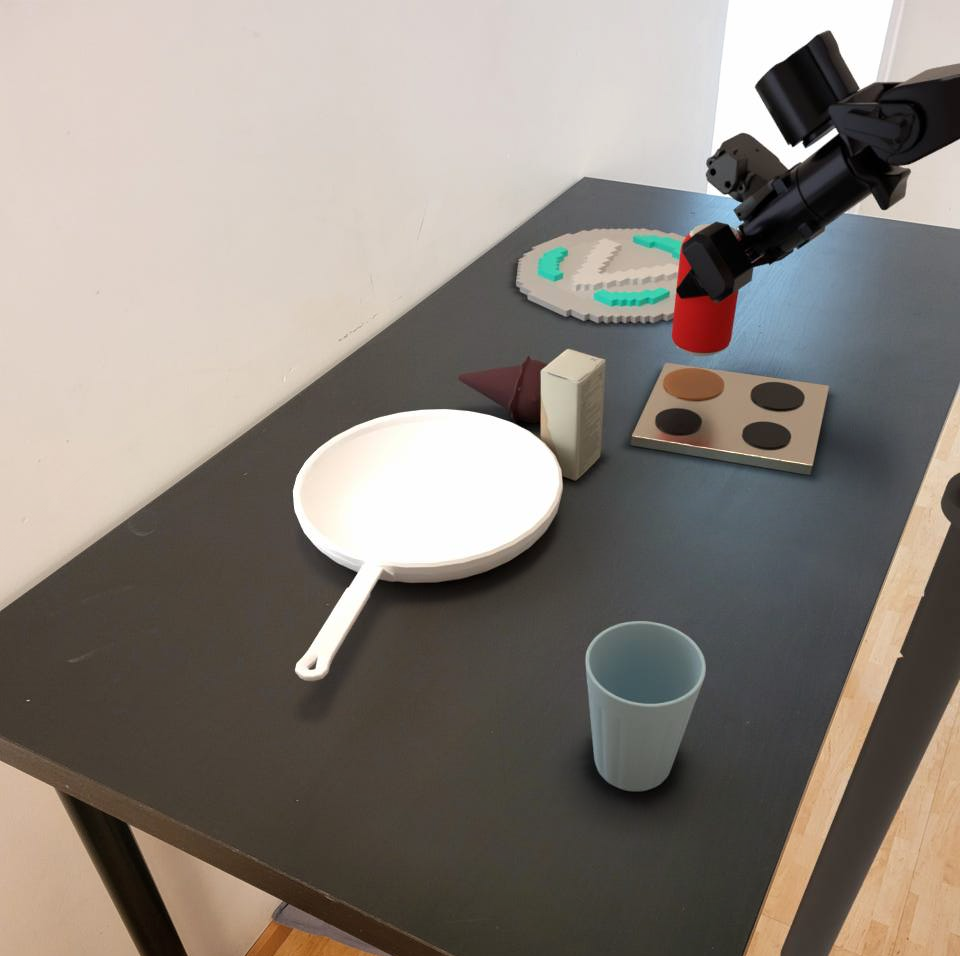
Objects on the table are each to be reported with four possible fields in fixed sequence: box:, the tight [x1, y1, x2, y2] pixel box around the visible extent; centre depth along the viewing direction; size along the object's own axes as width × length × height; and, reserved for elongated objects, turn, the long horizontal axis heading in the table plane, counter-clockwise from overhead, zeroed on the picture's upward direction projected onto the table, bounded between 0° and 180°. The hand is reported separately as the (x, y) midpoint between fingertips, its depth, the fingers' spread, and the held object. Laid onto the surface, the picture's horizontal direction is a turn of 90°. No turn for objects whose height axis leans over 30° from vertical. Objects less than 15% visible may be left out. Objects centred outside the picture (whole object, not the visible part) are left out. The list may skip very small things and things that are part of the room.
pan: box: [292, 408, 564, 682], centre depth 83 cm, size 25×39×4 cm, turn 162°
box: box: [540, 348, 606, 481], centre depth 91 cm, size 5×4×11 cm
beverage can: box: [671, 223, 741, 357], centre depth 95 cm, size 6×6×12 cm
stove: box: [630, 362, 830, 476], centre depth 99 cm, size 18×16×1 cm
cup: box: [584, 620, 707, 792], centre depth 64 cm, size 8×8×10 cm
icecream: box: [457, 355, 549, 424], centre depth 99 cm, size 7×7×15 cm
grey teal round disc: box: [515, 227, 686, 324], centre depth 125 cm, size 28×28×2 cm
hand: (696, 282), depth 95 cm, fingers closed on beverage can, 6 cm apart
